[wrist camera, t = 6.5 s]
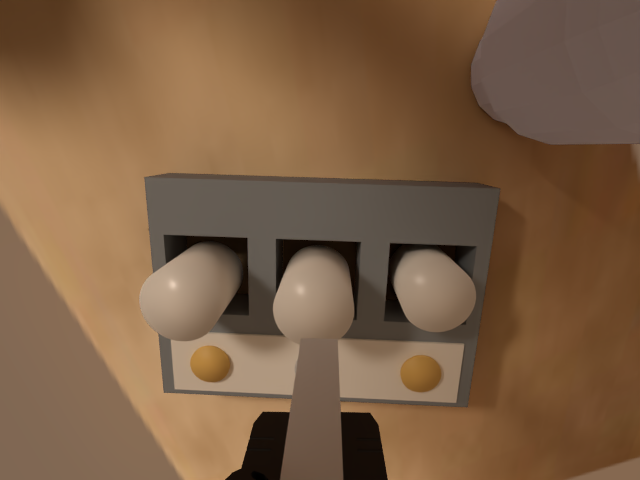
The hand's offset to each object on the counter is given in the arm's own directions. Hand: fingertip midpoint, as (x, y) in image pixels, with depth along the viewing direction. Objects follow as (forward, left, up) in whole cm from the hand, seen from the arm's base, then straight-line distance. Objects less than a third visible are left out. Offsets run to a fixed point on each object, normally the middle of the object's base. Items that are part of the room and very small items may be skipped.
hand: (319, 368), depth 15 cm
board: (-1, -2, -16) cm, 16 cm away
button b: (-1, -1, -13) cm, 13 cm away
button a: (-9, -1, -13) cm, 15 cm away
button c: (+7, -1, -15) cm, 17 cm away
